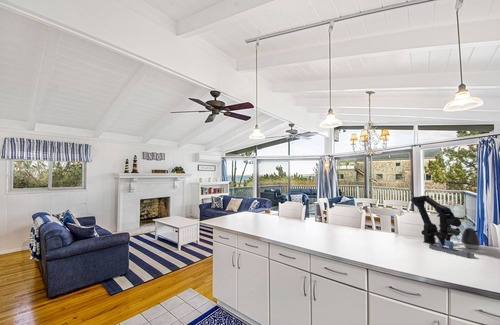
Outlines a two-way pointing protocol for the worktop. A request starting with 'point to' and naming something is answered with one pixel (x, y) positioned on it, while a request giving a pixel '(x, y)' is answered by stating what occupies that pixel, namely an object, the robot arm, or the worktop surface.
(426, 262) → the worktop surface
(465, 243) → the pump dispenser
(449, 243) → the blue notched pillar
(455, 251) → the rail
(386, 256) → the worktop surface
